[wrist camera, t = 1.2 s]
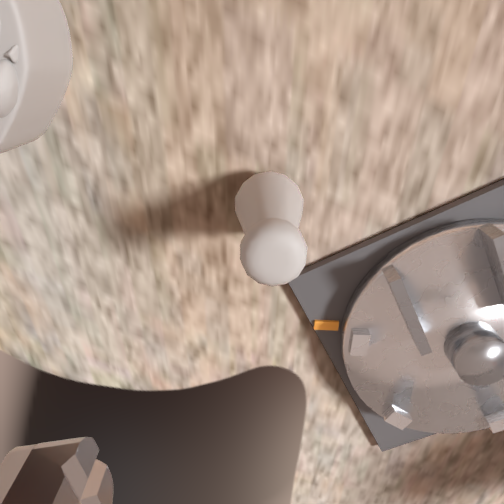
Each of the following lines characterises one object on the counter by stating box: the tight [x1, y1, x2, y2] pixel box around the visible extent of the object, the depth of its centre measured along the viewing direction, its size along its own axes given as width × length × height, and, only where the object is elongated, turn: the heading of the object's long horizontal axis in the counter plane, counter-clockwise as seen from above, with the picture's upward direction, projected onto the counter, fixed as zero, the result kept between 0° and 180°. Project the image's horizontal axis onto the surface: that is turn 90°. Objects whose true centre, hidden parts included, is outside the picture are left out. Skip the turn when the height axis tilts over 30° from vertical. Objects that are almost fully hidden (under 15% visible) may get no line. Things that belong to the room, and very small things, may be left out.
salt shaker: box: [235, 171, 307, 286], centre depth 31 cm, size 6×6×13 cm
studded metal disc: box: [340, 218, 504, 434], centre depth 40 cm, size 24×24×5 cm
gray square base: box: [289, 179, 504, 451], centre depth 42 cm, size 26×26×1 cm
